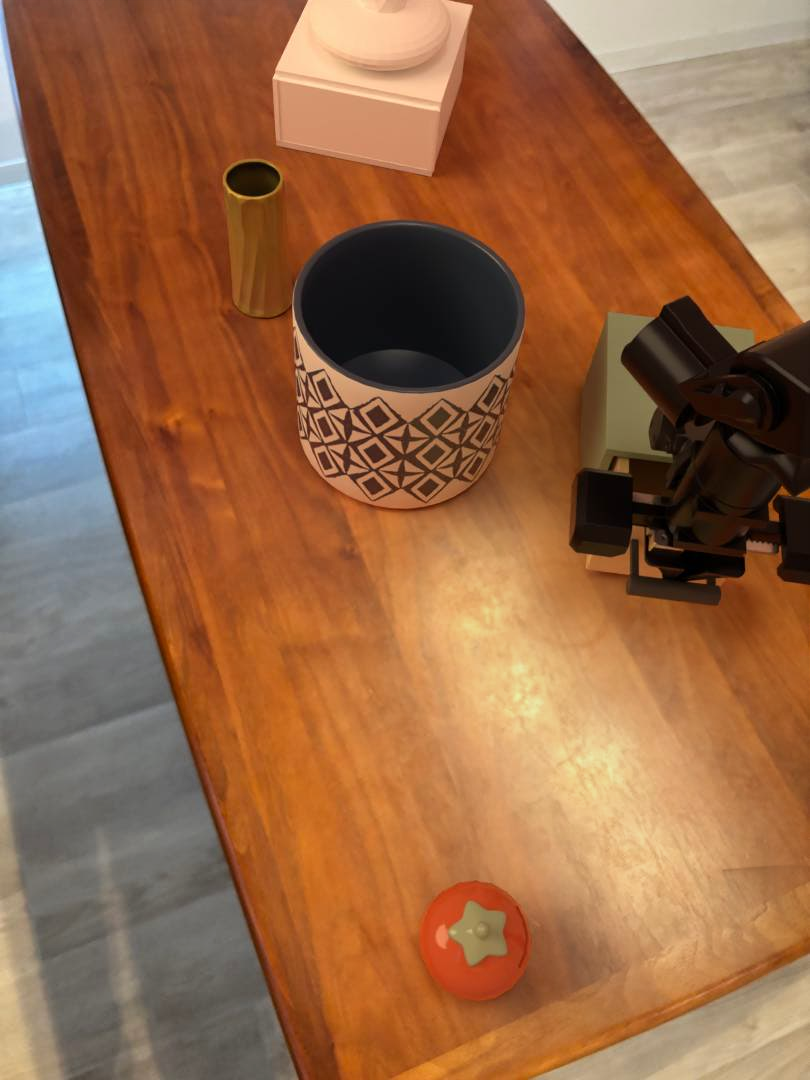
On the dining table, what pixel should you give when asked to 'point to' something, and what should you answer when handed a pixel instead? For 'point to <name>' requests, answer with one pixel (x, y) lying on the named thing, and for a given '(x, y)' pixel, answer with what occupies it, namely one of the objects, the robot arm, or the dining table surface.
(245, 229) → the vase
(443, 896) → the tomato
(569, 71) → the dining table surface
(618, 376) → the cabinet
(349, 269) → the planter
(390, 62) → the pink lidded box
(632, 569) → the drawer
